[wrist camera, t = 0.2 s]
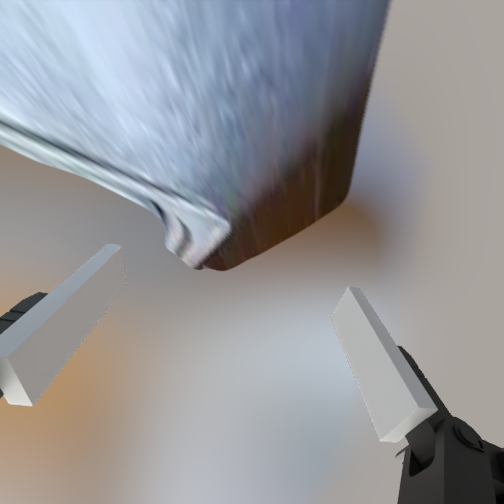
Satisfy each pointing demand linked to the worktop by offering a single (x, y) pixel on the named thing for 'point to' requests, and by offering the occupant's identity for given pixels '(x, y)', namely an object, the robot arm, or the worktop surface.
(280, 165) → the worktop surface
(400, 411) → the robot arm
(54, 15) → the worktop surface
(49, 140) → the worktop surface
